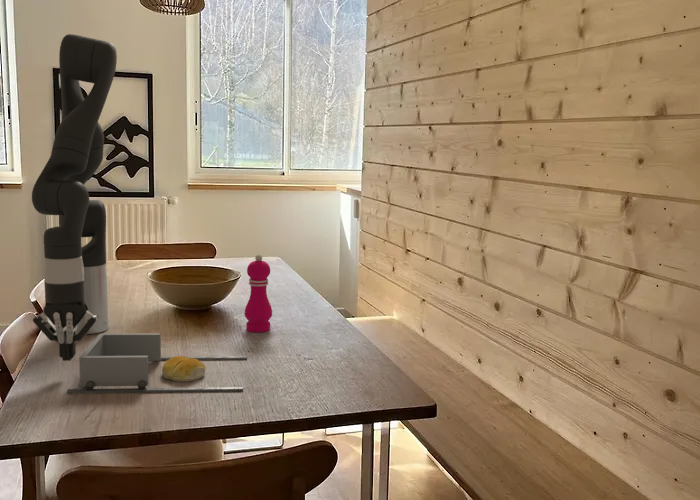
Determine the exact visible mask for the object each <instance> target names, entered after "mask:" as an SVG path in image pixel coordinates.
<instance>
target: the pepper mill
mask: <svg viewBox="0 0 700 500" xmlns="http://www.w3.org/2000/svg"><path fill="white" fill-rule="evenodd" d="M254 259H255V260H253V261H251V262H250V263H249V264H248V266H247V269H246V273H247V275H248V277H249V279H248V284H249V286H250V293H249V294H250V295H249V299H248V301H247V303H246V305H245V309H244V317H245V319H246V320H248V321H246V325H245V326H246V327H245V328H246V330H247V331H248V332H250V333H265V332H269V331H270V330H271V321H270V319H271V318H272V316H273V309H272V305H271V303H270V301H269V298H268V294H267V286H268V285H269V279H268V277H269V276H270V275H271V267H270V265H269V263H268V262H266V261H264V260H263V256H262V255H261V254H256V255H255V257H254Z"/></svg>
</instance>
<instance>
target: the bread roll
mask: <svg viewBox="0 0 700 500" xmlns="http://www.w3.org/2000/svg"><path fill="white" fill-rule="evenodd" d="M172 357H173V358H171V359H169V360H165V362H164V364H163V365H162V369H161V370H162V372H161V373H162V377H164V379H166V380H170V381H171V380H172V381H174V382H178V383H187V382H193V381H196V380H199V379H200V378H203V377H204V376H205V375H206V366H205V364H204V363H203V362H202V360H197V359H195V358H188V357H185V356H183V355H179V356H172Z"/></svg>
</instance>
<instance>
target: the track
mask: <svg viewBox="0 0 700 500" xmlns="http://www.w3.org/2000/svg"><path fill="white" fill-rule="evenodd" d="M173 357H174V356H161V360H160V361H167V360H169V359H171V358H173ZM185 357H188V358H195V359H197V360H199V361H219V360H220V361H223V360H224V361H225V360H226V361H231V360H233V361H235V360H238V361H239V360H240V361H241V360H243V361H244V360H245V361H246V360H248V356H247V355H238V356H237V355H226V356H224V355H222V356H220V355H219V356H218V355H217V356H215V355H213V356H211V355H210V356H205V355H204V356H203V355H202V356H201V355H199V356H197V355H196V356H193V355H191V356H190V355H189V356H185ZM199 392H200V393H201V392H204V393H206V392H207V393H209V392H211V393H212V392H214V393H215V392H218V393H219V392H221V393H222V392H244V386H224V387H223V386H221V387H220V386H216V387H211V386H210V387H148V388H147V387H145V388H138V387H134V388H133V387H132V388H131V387H130V388H127V387H126V388H125V387H124V388H122V387H121V388H93V389H86V388H68V389H67V390H66V394H67V393H68V394H126V393H127V394H128V393H130V394H131V393H132V394H136V393H137V394H138V393H142V394H143V393H199Z"/></svg>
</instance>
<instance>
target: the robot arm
mask: <svg viewBox="0 0 700 500" xmlns="http://www.w3.org/2000/svg"><path fill="white" fill-rule="evenodd" d="M58 56H59V59H58V60H59V76H60V77H59V80H60V91H61V93H60V95H61V122H60V123H59V125H58V127H57V129H56V132H55V134H54V139H53V145H52V149H51V152H50V157H49V158H48V160H47V162H46V164H45V165H44V168H42V171H41V173H40V174H39V176H38V178H37V179H36V181H35V183H34V185H33V188H32V191H31V203H32V205H33V208H34V209H35V211H36V212H37V213H39V214H41V215H45V216H58V225H57V226H53V227H49V228H47V229H45V231H44V233H43V249H44V251H43V252H44V253H43V254H44V262H43V263H44V264H43V277H44V278H43V279H44V280H43V281H44V283H43V284H44V302H45V305H44V307H43V312H41V313H40V314H37V315H36V316H35V317H34V318H33V319H32V321H33V323H34V324H35V325H36V326H37V328H38V329H39V330H40V331H41V332H42V333H43V334H44V335H45V337H46V338H47V339H48V340H49V341H51V342H53V341H54V342H56V343H58V350H59V357H60V358H61V359H62V361H66V362H67V361H71V360H72V359H73V358H74V357H75V355H76V342H78V341H79V342H80V341H81V340H82V339H83V338H84V337H85V336H86V335H93V334H100V333H103V332H105V331H107V330H108V329H109V305H108V304H109V303H108V300H109V299H108V275H107V273H108V272H107V246H106V245H107V243H106V241H107V240H106V239H107V238H106V237H107V211H106V207H105V204H104V202H103V201H101V200H98V199H93V200H91V199H90V194H89V192H88V189H87V187H86V186H85V184H86V183H87V182H88V181H89V180H90V178H92V176H93V175H94V174H95V173H96V172H97V170H98V169H99V167H100V166H101V164H102V162H103V159H104V145H105V135H104V130H103V128H102V126H101V123H99V120H100V117H101V115H102V112H103V109H104V106H105V104H106V101H107V99H108V95H109V92H110V90H111V87H112V84H113V81H114V78H115V74H116V70H117V69H116V68H117V59H118V58H117V57H118V56H117V48H116V47H115V45H114V44H113V43H112V42H109V41H106V40H103V39H97V38H92V37H89V36H88V37H87V36H82V35H78V34H69V33H68V34H66V35H64V37H62V39H61V42H60V46H59V55H58ZM80 81H81V82H85V83H90V84H93V85H92V88H91V90H90V92H89V93H88V94H87V96H86V97H85V98H84V95H83V92H82V89H81V85H80ZM82 238H90V239H91V240H90V241H89V242H88V243H86V244H85V245H83V246H82ZM49 321H50V322H51V323H50V322H49ZM51 324H52V325H51ZM53 326H54V327H53Z"/></svg>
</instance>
